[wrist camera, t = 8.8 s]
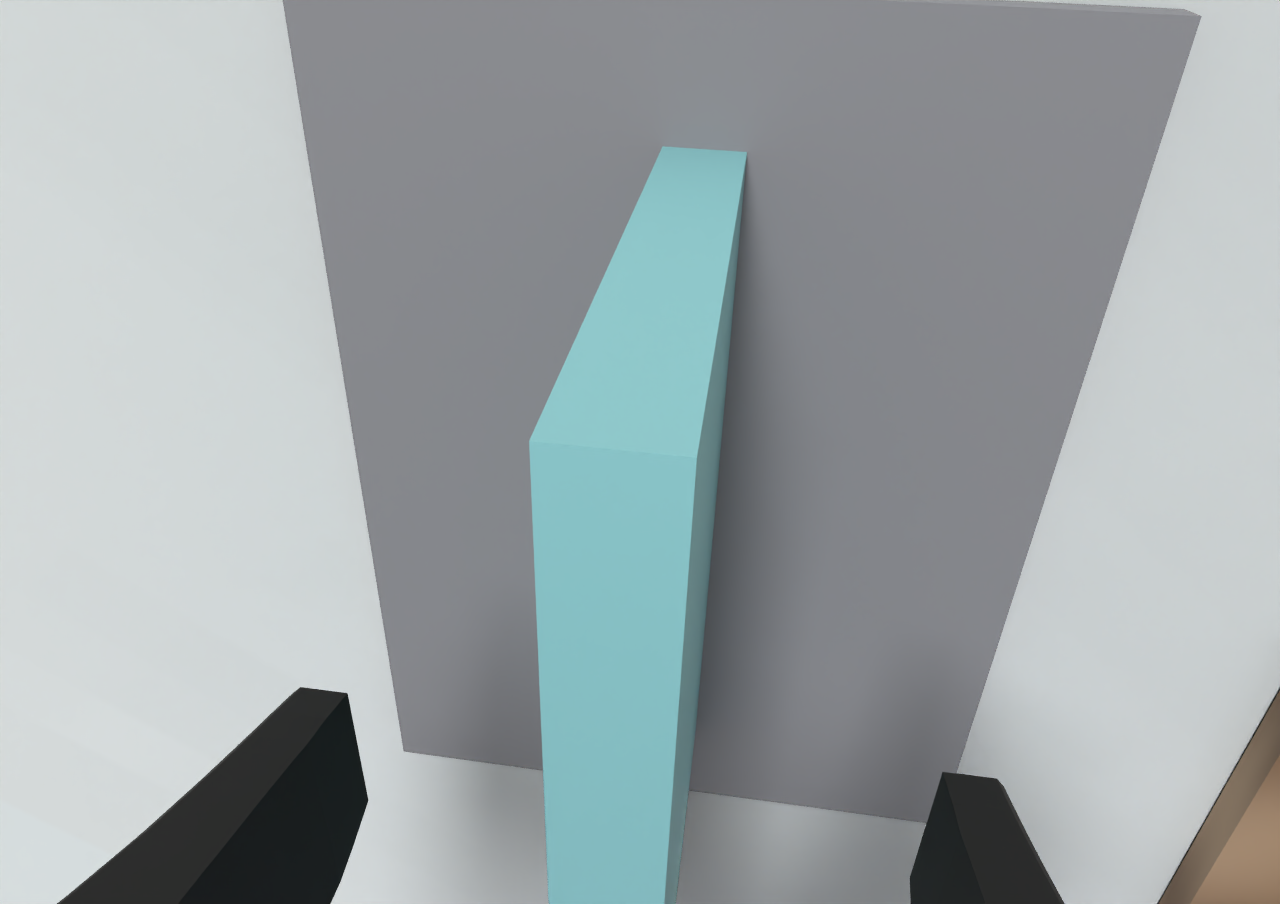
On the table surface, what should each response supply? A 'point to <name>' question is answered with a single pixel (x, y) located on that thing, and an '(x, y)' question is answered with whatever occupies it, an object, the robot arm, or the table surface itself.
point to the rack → (1239, 832)
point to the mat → (733, 335)
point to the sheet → (633, 535)
